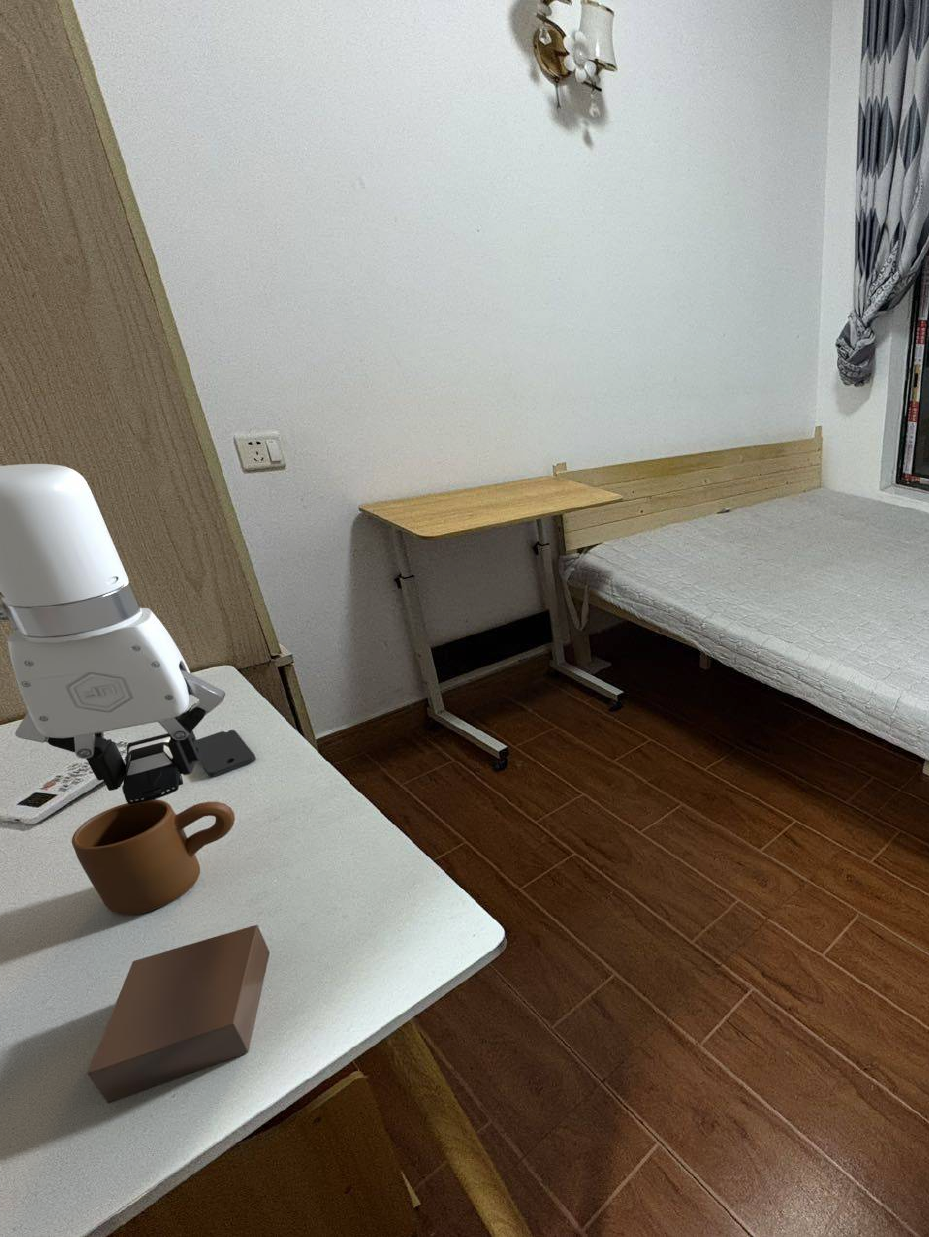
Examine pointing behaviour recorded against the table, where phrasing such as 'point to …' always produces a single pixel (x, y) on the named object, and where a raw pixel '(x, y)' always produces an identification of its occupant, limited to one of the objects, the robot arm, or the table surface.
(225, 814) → the mug
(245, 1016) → the walnut block
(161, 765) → the toy car
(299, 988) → the table surface
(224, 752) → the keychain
